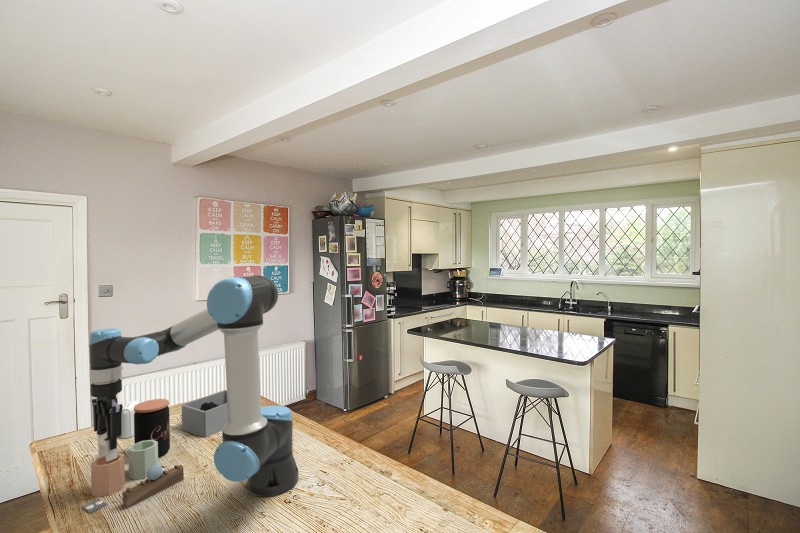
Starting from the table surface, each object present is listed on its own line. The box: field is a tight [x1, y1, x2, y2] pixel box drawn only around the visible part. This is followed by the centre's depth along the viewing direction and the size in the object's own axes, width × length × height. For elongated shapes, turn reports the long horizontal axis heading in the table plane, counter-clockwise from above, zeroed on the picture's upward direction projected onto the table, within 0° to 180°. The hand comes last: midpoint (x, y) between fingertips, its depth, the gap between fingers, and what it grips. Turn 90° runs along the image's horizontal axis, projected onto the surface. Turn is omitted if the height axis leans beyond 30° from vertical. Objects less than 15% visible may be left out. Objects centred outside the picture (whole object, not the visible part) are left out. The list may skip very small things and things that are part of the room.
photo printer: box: [120, 400, 141, 439], centre depth 153 cm, size 10×4×12 cm, turn 13°
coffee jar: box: [133, 398, 171, 459], centre depth 137 cm, size 11×11×18 cm
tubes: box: [81, 440, 159, 514], centre depth 118 cm, size 12×22×9 cm, turn 151°
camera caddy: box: [181, 389, 228, 438], centre depth 162 cm, size 16×21×10 cm
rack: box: [122, 464, 185, 509], centre depth 115 cm, size 2×16×5 cm, turn 151°
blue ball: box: [146, 464, 163, 480], centre depth 115 cm, size 4×4×4 cm
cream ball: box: [99, 432, 107, 447], centre depth 116 cm, size 4×4×4 cm
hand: (108, 457), depth 116 cm, fingers closed on cream ball, 4 cm apart
